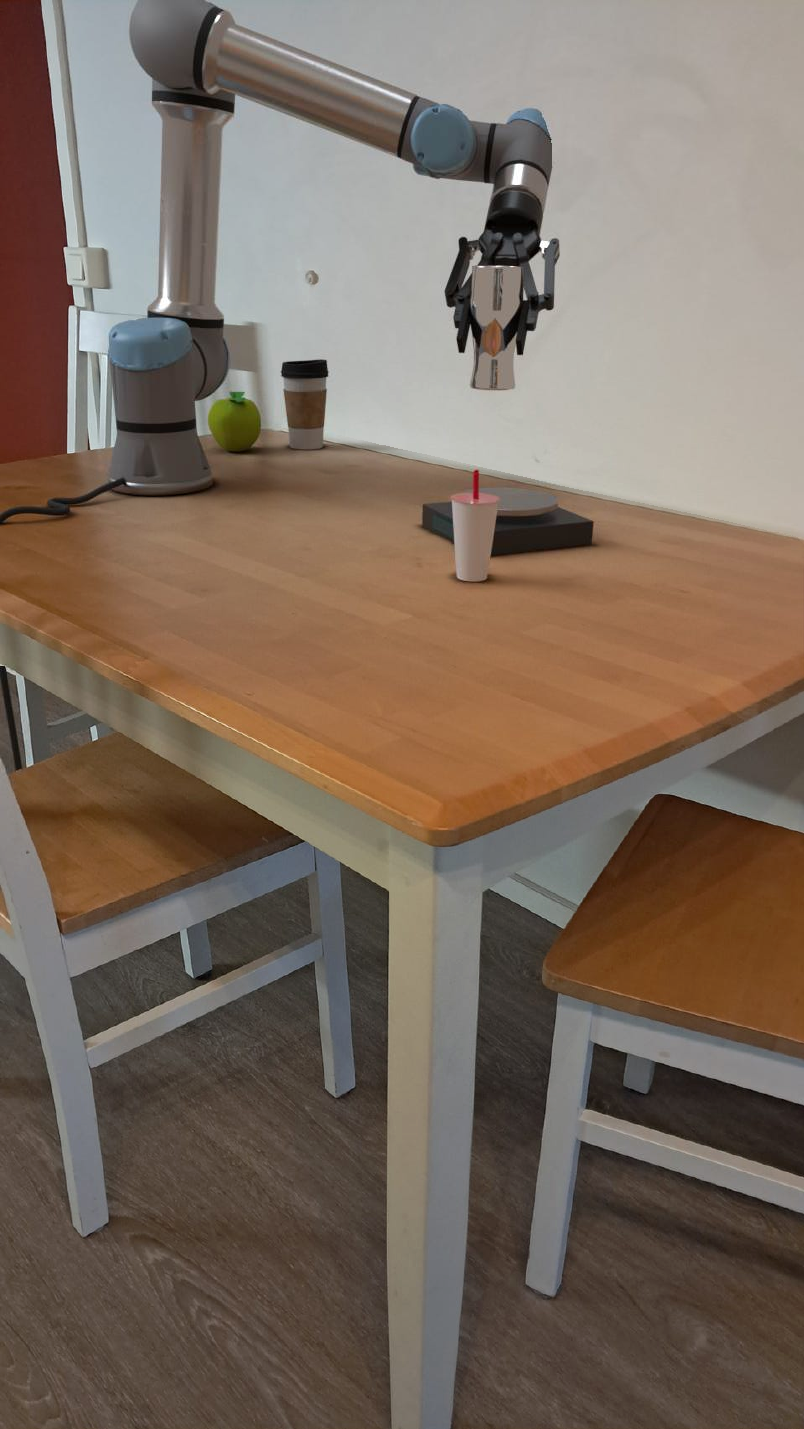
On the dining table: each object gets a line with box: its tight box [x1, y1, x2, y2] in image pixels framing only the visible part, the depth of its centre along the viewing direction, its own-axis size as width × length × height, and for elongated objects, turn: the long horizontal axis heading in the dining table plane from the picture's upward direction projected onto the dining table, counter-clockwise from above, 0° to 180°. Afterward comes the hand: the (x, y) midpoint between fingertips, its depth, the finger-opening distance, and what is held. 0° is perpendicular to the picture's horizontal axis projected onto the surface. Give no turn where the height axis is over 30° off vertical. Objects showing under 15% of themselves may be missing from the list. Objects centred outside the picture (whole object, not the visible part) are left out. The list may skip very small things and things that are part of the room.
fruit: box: [207, 391, 262, 453], centre depth 187 cm, size 9×9×10 cm
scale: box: [421, 501, 595, 557], centre depth 136 cm, size 16×16×3 cm
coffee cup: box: [280, 358, 329, 451], centre depth 190 cm, size 8×8×15 cm
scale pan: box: [457, 486, 559, 516], centre depth 135 cm, size 13×13×1 cm
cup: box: [450, 469, 500, 583], centre depth 117 cm, size 5×5×12 cm
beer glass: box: [469, 265, 525, 391], centre depth 139 cm, size 7×7×15 cm
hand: (489, 346), depth 137 cm, fingers closed on beer glass, 7 cm apart
